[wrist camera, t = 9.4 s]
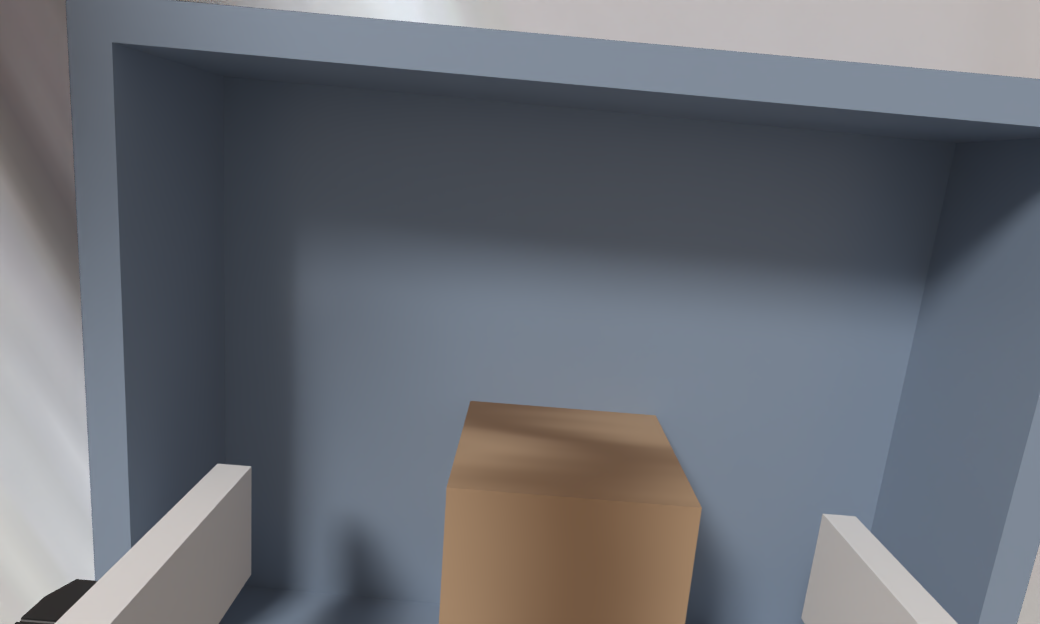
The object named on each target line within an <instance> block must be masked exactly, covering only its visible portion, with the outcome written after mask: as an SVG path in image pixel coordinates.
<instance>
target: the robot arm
mask: <svg viewBox="0 0 1040 624" xmlns="http://www.w3.org/2000/svg"><path fill="white" fill-rule="evenodd" d="M250 575H251V466H241V465H229V464H217V465H216V466H215V467H214V468H213V469H212V470H211V471H210V472H209V473H207V474H206V475H205V476H204V477H203V478H202V479H201V480H200V481H199V482H198V483H197V484H196V485H195V486H194V487H193V488H192V489H191V490H190V491H189V492H188V493H187V494H186V495H185V496H184V497H183V498H182V499H181V500H180V501H179V502H178V503H177V504H176V505H175V506H174V507H173V508H172V509H171V510H170V511H169V512H168V513H167V514H166V515H165V516H164V517H163V518H162V519H161V520H160V521H159V522H158V523H157V524H156V525H155V526H153V527H152V528H151V529H150V530H149V531H148V532H147V533H146V534H145V535H144V536H143V537H142V538H141V539H140V540H139V541H138V542H137V543H136V544H135V545H134V546H133V547H132V548H131V549H130V550H129V551H128V552H127V553H126V554H125V555H124V556H123V557H122V558H121V559H120V560H119V561H118V562H117V563H116V564H115V565H114V566H113V567H112V568H111V569H110V570H109V571H108V572H107V573H106V574H105V575H104V576H103V577H102V578H100V579H99V580H98V581H91V580H79V579H76V580H74V581H72V582H71V583H69V584H67V585H65V586H63V587H61V588H60V589H58V590H56V591H54V592H52V593H50V594H49V595H47V596H45V597H44V598H43V599H42V600H40V601H39V602H38V603H37V604H36V605H35V606H34V607H33V608H32V609H30V610H29V611H28V612H27V613H26V614H25V615H24V616H23V617H22V618H21V621H20V622H16V623H15V624H219V622H220V621H221V619H222V618H223V616H224V615H225V613H226V612H227V610H228V609H229V607H230V606H231V604H232V603H233V601H234V600H235V598H236V597H237V595H238V594H239V592H240V591H241V589H242V587H243V586H244V584H245V583H246V581H247V580H248V578H249V577H250ZM801 619H802V620H803V622H804V624H958V623H957V622H956V621H955V620H954V619H953V618H952V617H951V616H950V615H949V614H948V613H947V612H946V611H945V610H944V609H943V608H942V606H941V605H940V604H939V603H938V602H937V601H936V600H935V599H934V598H933V597H932V596H931V595H930V594H929V593H928V592H927V591H926V590H925V589H924V588H923V587H922V586H921V584H920V583H919V582H918V581H917V580H916V579H915V578H914V577H913V576H912V575H911V574H910V573H909V572H908V571H907V570H906V569H905V568H904V567H903V566H902V565H901V564H900V562H899V561H898V560H897V559H896V558H895V557H894V556H893V555H892V554H891V553H890V552H889V551H888V550H887V549H886V548H885V547H884V546H883V545H882V544H881V543H880V542H879V540H878V539H877V538H876V537H875V536H874V535H873V534H872V533H871V532H870V531H869V530H868V529H867V528H866V527H865V526H864V525H863V524H862V523H861V522H860V521H859V520H858V518H857V517H856V516H845V515H833V514H823V515H822V519H821V524H820V529H819V534H818V539H817V544H816V549H815V554H814V558H813V563H812V568H811V573H810V578H809V583H808V588H807V592H806V597H805V602H804V607H803V612H802V617H801Z"/></svg>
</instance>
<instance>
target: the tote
mask: <svg viewBox="0 0 1040 624" xmlns="http://www.w3.org/2000/svg"><path fill="white" fill-rule="evenodd" d="M66 16H67V35H68V55H69V75H70V94H71V114H72V134H73V153H74V173H75V193H76V212H77V232H78V252H79V271H80V291H81V311H82V330H83V350H84V370H85V389H86V409H87V429H88V448H89V468H90V488H91V507H92V527H93V546H94V566H95V581H98V580H99V579H100V578H102V577H103V576H104V575H105V574H106V573H107V572H108V571H109V570H110V569H111V568H112V567H113V566H114V565H115V564H116V563H117V562H118V561H119V560H120V559H121V558H122V557H123V556H124V555H125V554H126V553H127V552H128V551H129V550H130V549H131V548H132V547H133V546H134V545H135V544H136V543H137V542H138V541H139V540H140V539H141V538H142V537H143V536H144V535H145V534H146V533H147V532H148V531H149V530H150V529H151V528H152V527H153V526H155V525H156V524H157V523H158V522H159V521H160V520H161V519H162V518H163V517H164V516H165V515H166V514H167V513H168V512H169V511H170V510H171V509H172V508H173V507H174V506H175V505H176V504H177V503H178V502H179V501H180V500H181V499H182V498H183V497H184V496H185V495H186V494H187V493H188V492H189V491H190V490H191V489H192V488H193V487H194V486H195V485H196V484H197V483H198V482H199V481H200V480H201V479H202V478H203V477H204V476H205V475H206V474H207V473H209V472H210V471H211V470H212V469H213V468H214V467H215V466H216V465H217V464H229V465H241V466H251V575H250V577H249V578H248V580H247V581H246V583H245V584H244V586H243V587H242V589H241V591H240V592H239V594H238V595H237V597H236V598H235V600H234V601H233V603H232V604H231V606H230V607H229V609H228V610H227V612H226V613H225V615H224V616H223V618H222V619H221V621H220V622H219V624H439V611H440V593H441V576H442V558H443V541H444V523H445V506H446V488H447V484H448V480H449V477H450V473H451V469H452V466H453V462H454V459H455V455H456V451H457V448H458V444H459V440H460V437H461V433H462V429H463V426H464V422H465V418H466V415H467V411H468V408H469V404H470V401H480V402H493V403H505V404H518V405H531V406H543V407H556V408H569V409H581V410H594V411H607V412H619V413H632V414H645V415H656V417H657V419H658V421H659V423H660V425H661V427H662V429H663V431H664V433H665V435H666V437H667V439H668V441H669V443H670V445H671V447H672V449H673V451H674V453H675V455H676V457H677V459H678V461H679V463H680V465H681V467H682V469H683V471H684V473H685V475H686V477H687V479H688V481H689V483H690V485H691V487H692V489H693V491H694V493H695V495H696V497H697V499H698V501H699V503H700V505H701V507H702V510H701V517H700V524H699V531H698V538H697V544H696V551H695V558H694V565H693V572H692V579H691V586H690V593H689V599H688V606H687V613H686V620H685V624H804V622H803V620H802V619H801V617H802V612H803V607H804V602H805V597H806V592H807V588H808V583H809V578H810V573H811V568H812V563H813V558H814V554H815V549H816V544H817V539H818V534H819V529H820V524H821V519H822V515H823V514H833V515H845V516H856V517H857V518H858V520H859V521H860V522H861V523H862V524H863V525H864V526H865V527H866V528H867V529H868V530H869V531H870V532H871V533H872V534H873V535H874V536H875V537H876V538H877V539H878V540H879V542H880V543H881V544H882V545H883V546H884V547H885V548H886V549H887V550H888V551H889V552H890V553H891V554H892V555H893V556H894V557H895V558H896V559H897V560H898V561H899V562H900V564H901V565H902V566H903V567H904V568H905V569H906V570H907V571H908V572H909V573H910V574H911V575H912V576H913V577H914V578H915V579H916V580H917V581H918V582H919V583H920V584H921V586H922V587H923V588H924V589H925V590H926V591H927V592H928V593H929V594H930V595H931V596H932V597H933V598H934V599H935V600H936V601H937V602H938V603H939V604H940V605H941V606H942V608H943V609H944V610H945V611H946V612H947V613H948V614H949V615H950V616H951V617H952V618H953V619H954V620H955V621H956V622H957V623H958V624H1017V622H1018V618H1019V615H1020V611H1021V608H1022V604H1023V601H1024V597H1025V593H1026V590H1027V586H1028V583H1029V579H1030V576H1031V572H1032V568H1033V565H1034V561H1035V558H1036V554H1037V551H1038V547H1039V544H1040V79H1032V78H1021V77H1010V76H999V75H988V74H977V73H967V72H956V71H945V70H934V69H923V68H912V67H901V66H890V65H879V64H868V63H857V62H846V61H835V60H824V59H813V58H802V57H791V56H780V55H769V54H758V53H747V52H736V51H725V50H714V49H703V48H692V47H681V46H670V45H659V44H648V43H637V42H626V41H615V40H604V39H593V38H582V37H571V36H560V35H549V34H538V33H527V32H516V31H505V30H494V29H483V28H472V27H461V26H450V25H439V24H428V23H417V22H406V21H395V20H384V19H373V18H362V17H351V16H340V15H329V14H318V13H307V12H296V11H285V10H274V9H263V8H252V7H241V6H230V5H219V4H208V3H197V2H186V1H175V0H66Z"/></svg>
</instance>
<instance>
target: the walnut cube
mask: <svg viewBox="0 0 1040 624" xmlns="http://www.w3.org/2000/svg"><path fill="white" fill-rule="evenodd" d="M701 510H702V507H701V505H700V503H699V501H698V499H697V497H696V495H695V493H694V491H693V489H692V487H691V485H690V483H689V481H688V479H687V477H686V475H685V473H684V471H683V469H682V467H681V465H680V463H679V461H678V459H677V457H676V455H675V453H674V451H673V449H672V447H671V445H670V443H669V441H668V439H667V437H666V435H665V433H664V431H663V429H662V427H661V425H660V423H659V421H658V419H657V417H656V415H645V414H632V413H619V412H607V411H594V410H581V409H569V408H556V407H543V406H531V405H518V404H505V403H493V402H480V401H470V404H469V408H468V411H467V415H466V418H465V422H464V426H463V429H462V433H461V437H460V440H459V444H458V448H457V451H456V455H455V459H454V462H453V466H452V469H451V473H450V477H449V480H448V484H447V488H446V506H445V523H444V541H443V558H442V576H441V593H440V611H439V624H685V620H686V613H687V606H688V599H689V593H690V586H691V579H692V572H693V565H694V558H695V551H696V544H697V538H698V531H699V524H700V517H701Z"/></svg>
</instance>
